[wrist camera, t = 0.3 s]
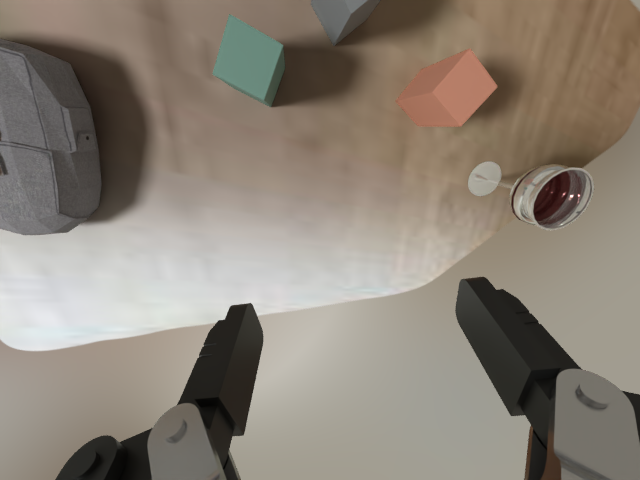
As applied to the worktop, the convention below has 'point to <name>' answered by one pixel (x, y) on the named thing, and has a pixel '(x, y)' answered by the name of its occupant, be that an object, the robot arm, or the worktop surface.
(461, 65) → the red pillar
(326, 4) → the charcoal pillar
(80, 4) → the worktop surface
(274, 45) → the green pillar
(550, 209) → the wineglass
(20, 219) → the grey rounded bag
